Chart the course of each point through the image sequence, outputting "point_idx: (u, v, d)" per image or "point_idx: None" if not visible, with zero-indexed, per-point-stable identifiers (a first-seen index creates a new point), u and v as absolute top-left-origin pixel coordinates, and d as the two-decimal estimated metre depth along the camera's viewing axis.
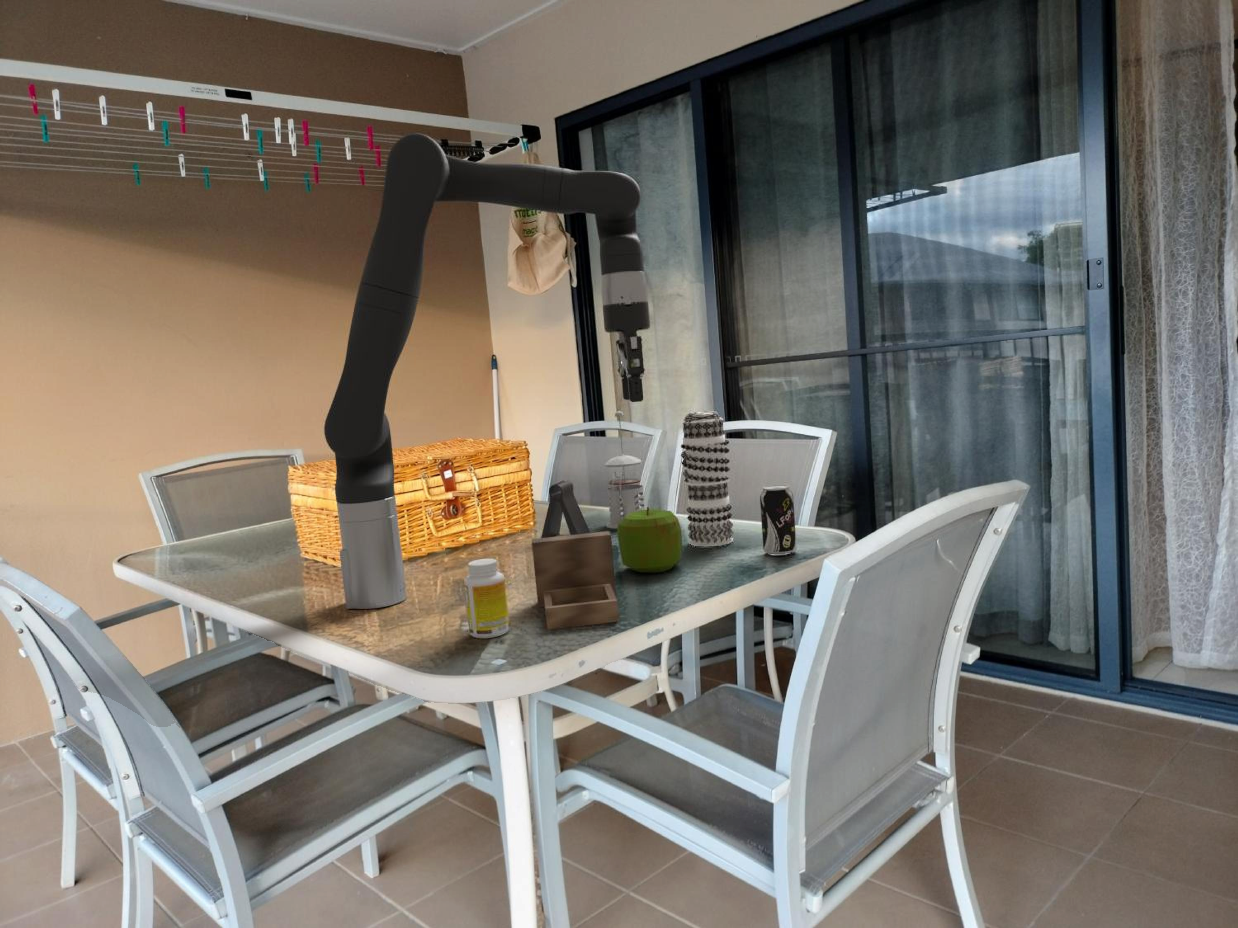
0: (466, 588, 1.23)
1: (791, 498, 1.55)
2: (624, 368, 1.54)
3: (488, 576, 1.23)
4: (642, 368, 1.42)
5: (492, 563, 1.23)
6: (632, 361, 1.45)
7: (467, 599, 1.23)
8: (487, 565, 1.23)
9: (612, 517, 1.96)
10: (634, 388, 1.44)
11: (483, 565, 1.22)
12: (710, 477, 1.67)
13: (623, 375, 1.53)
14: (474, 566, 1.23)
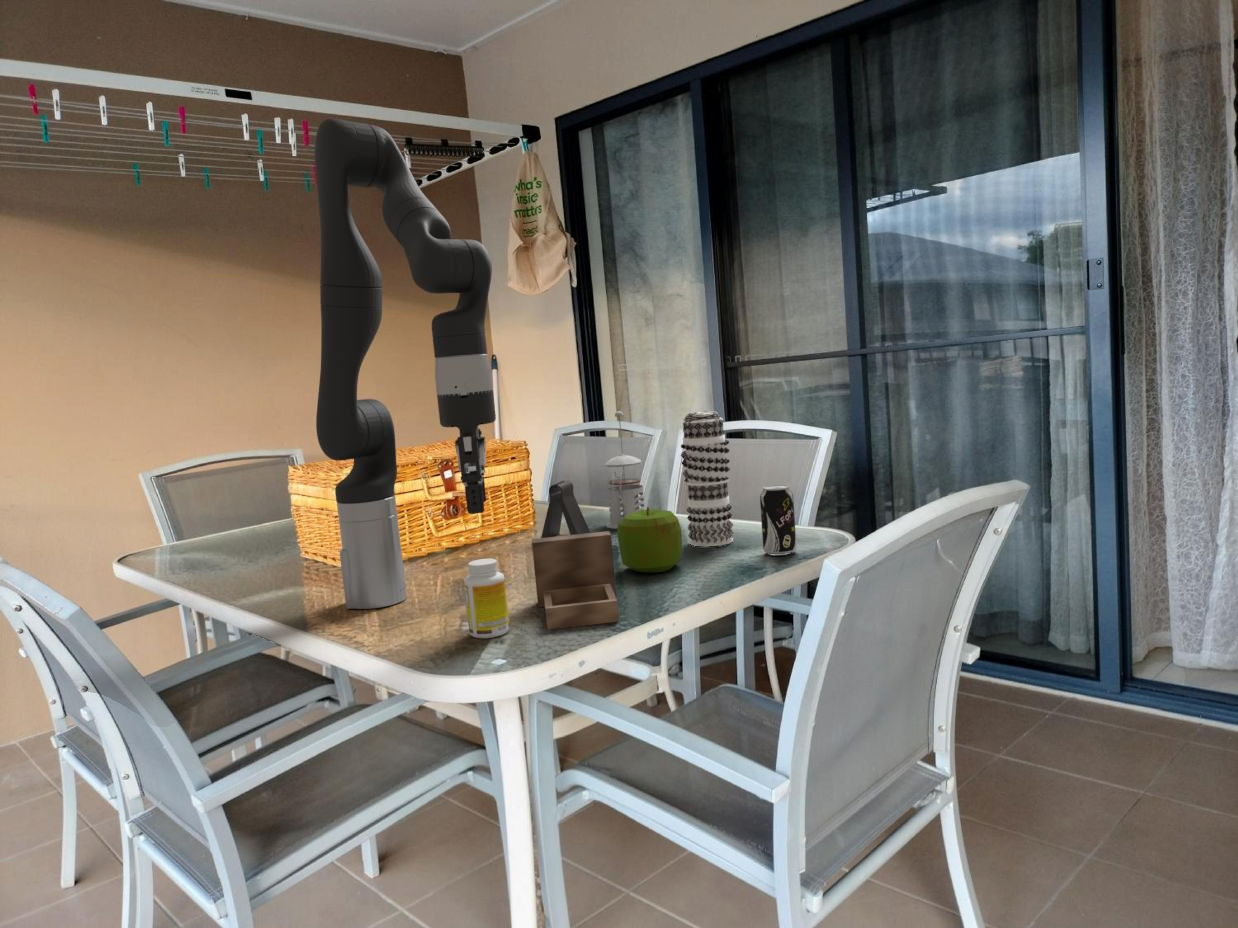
0: (466, 588, 1.23)
1: (791, 498, 1.55)
2: None
3: (488, 576, 1.23)
4: (478, 475, 1.16)
5: (492, 563, 1.23)
6: (470, 464, 1.19)
7: (467, 599, 1.23)
8: (487, 565, 1.23)
9: (612, 517, 1.96)
10: (471, 498, 1.18)
11: (483, 565, 1.22)
12: (710, 477, 1.67)
13: None
14: (474, 566, 1.23)
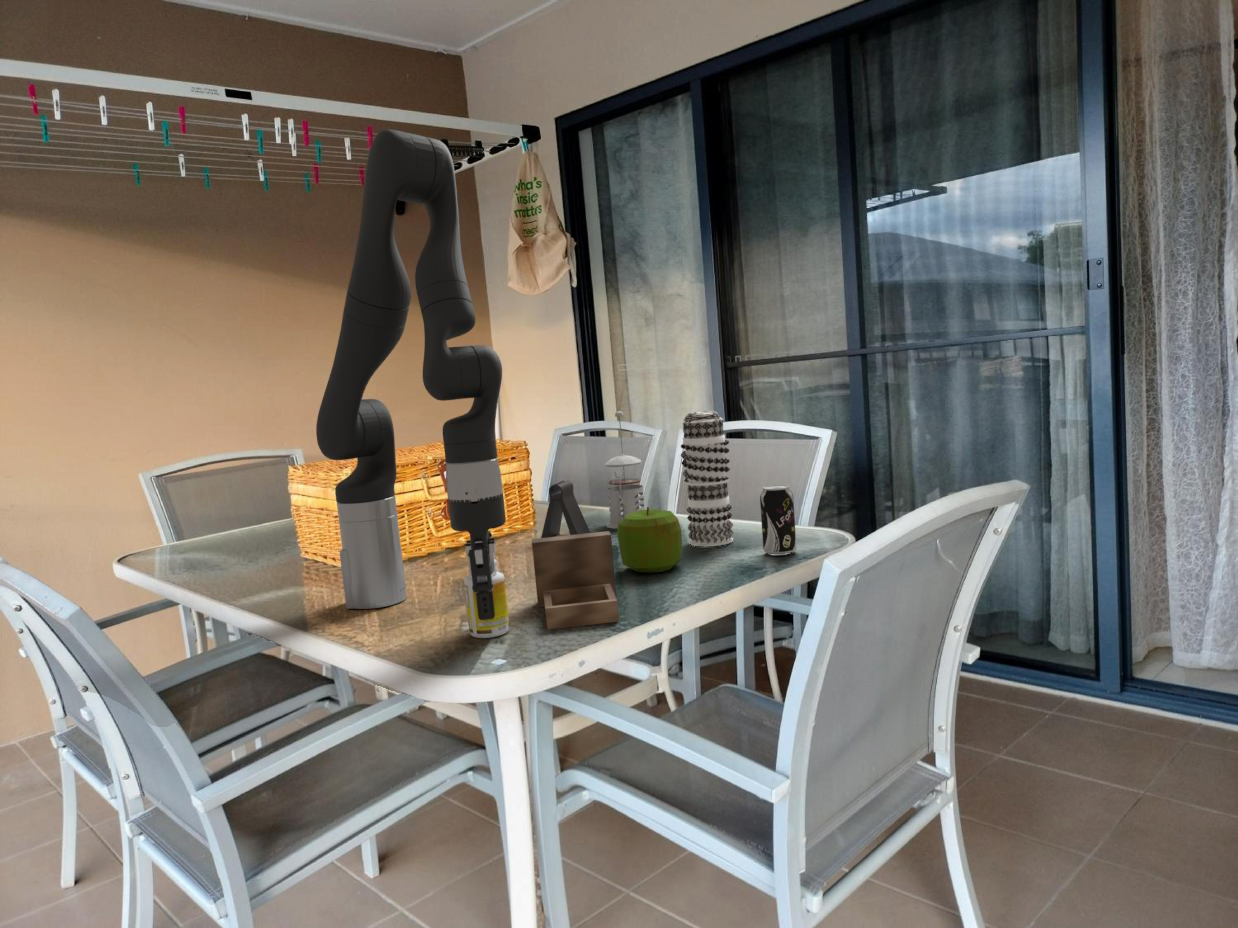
0: (466, 588, 1.23)
1: (791, 498, 1.55)
2: None
3: None
4: (489, 586, 1.19)
5: None
6: None
7: (467, 599, 1.23)
8: None
9: (612, 517, 1.96)
10: (482, 605, 1.21)
11: None
12: (710, 477, 1.67)
13: None
14: None
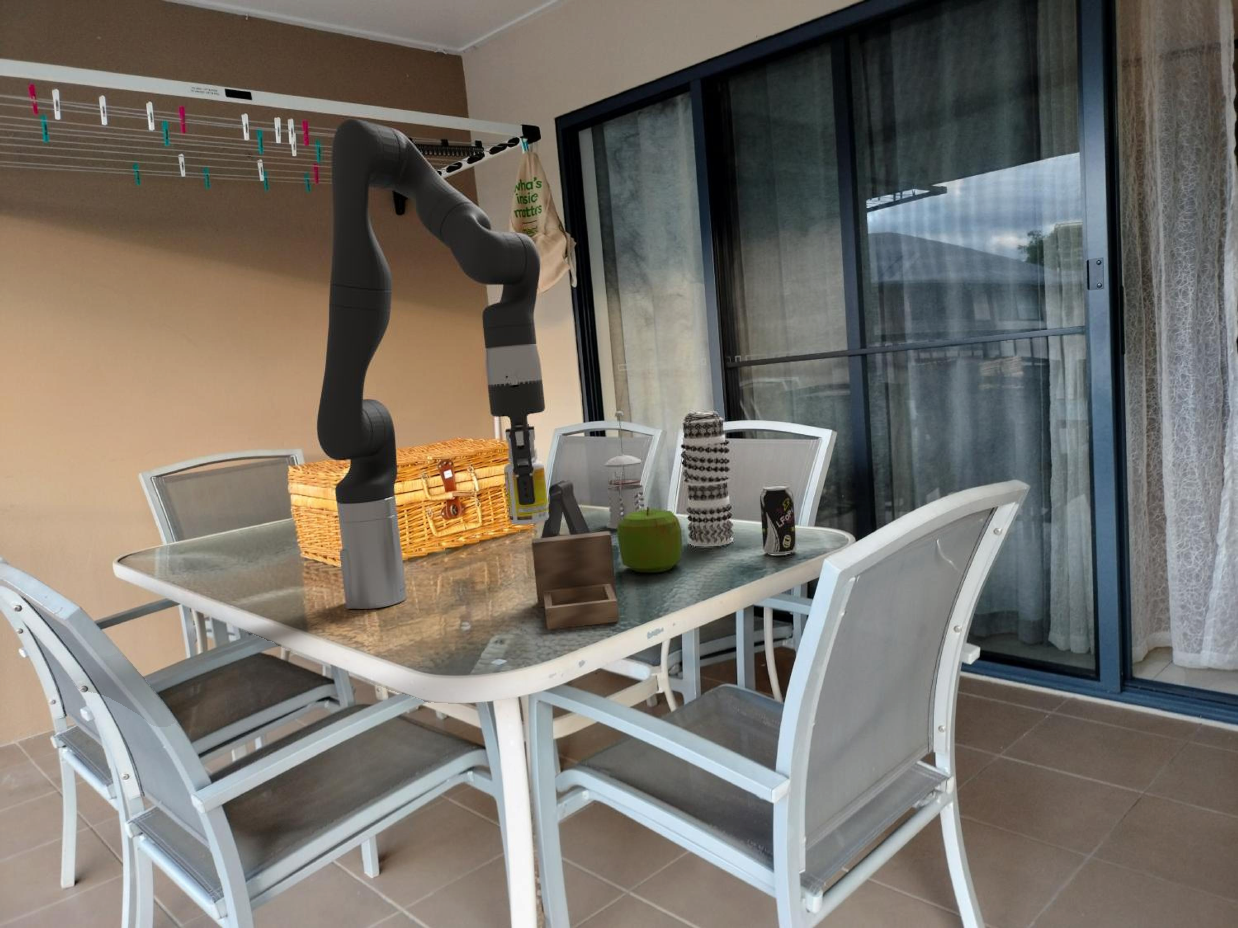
0: (506, 475, 1.24)
1: (791, 498, 1.55)
2: None
3: None
4: (530, 468, 1.19)
5: None
6: None
7: (507, 486, 1.24)
8: None
9: (612, 517, 1.96)
10: (523, 489, 1.21)
11: None
12: (710, 477, 1.67)
13: None
14: None
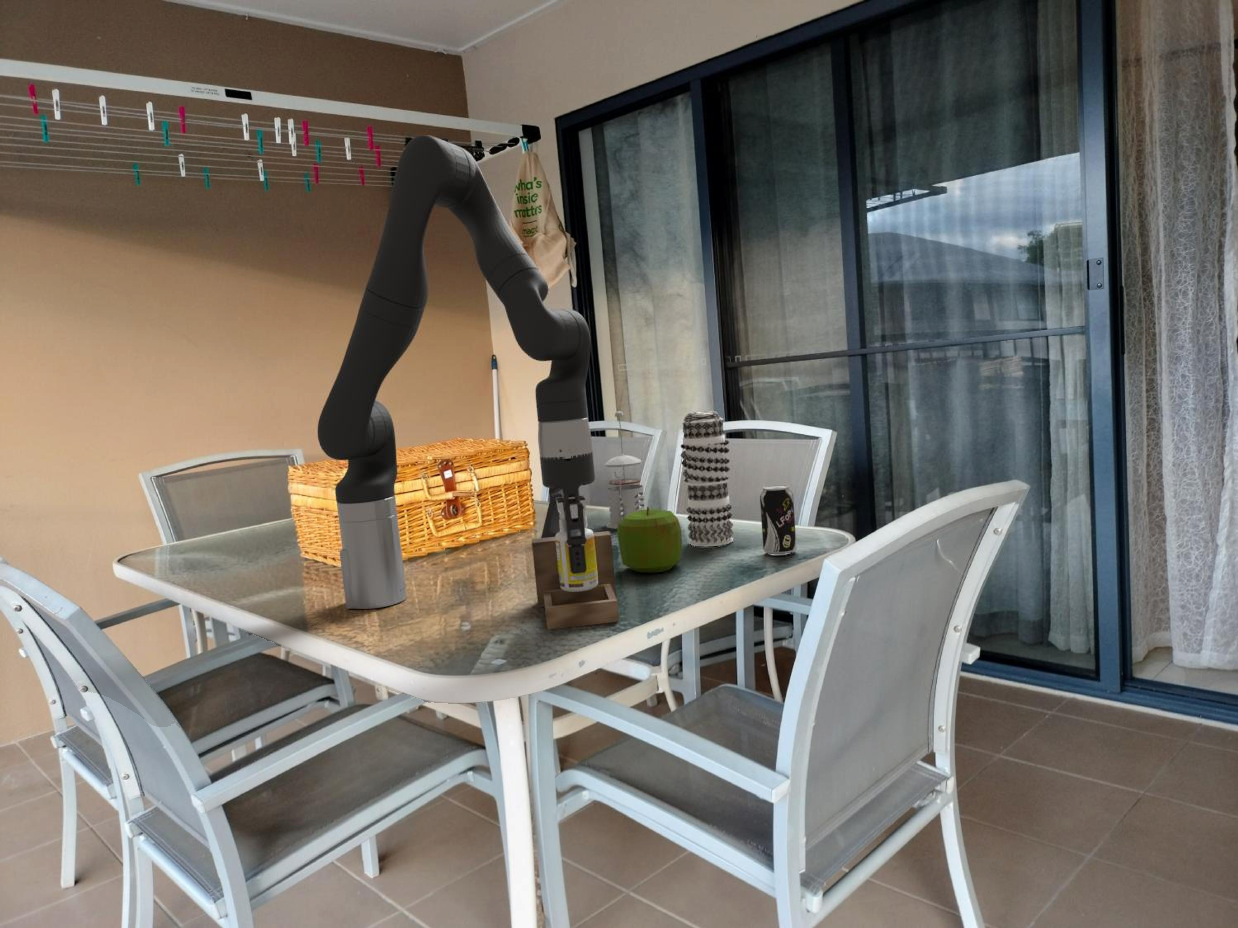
0: (558, 543, 1.28)
1: (791, 498, 1.55)
2: None
3: None
4: (583, 540, 1.23)
5: None
6: None
7: (559, 554, 1.28)
8: None
9: (612, 517, 1.96)
10: (575, 559, 1.25)
11: None
12: (710, 477, 1.67)
13: None
14: None
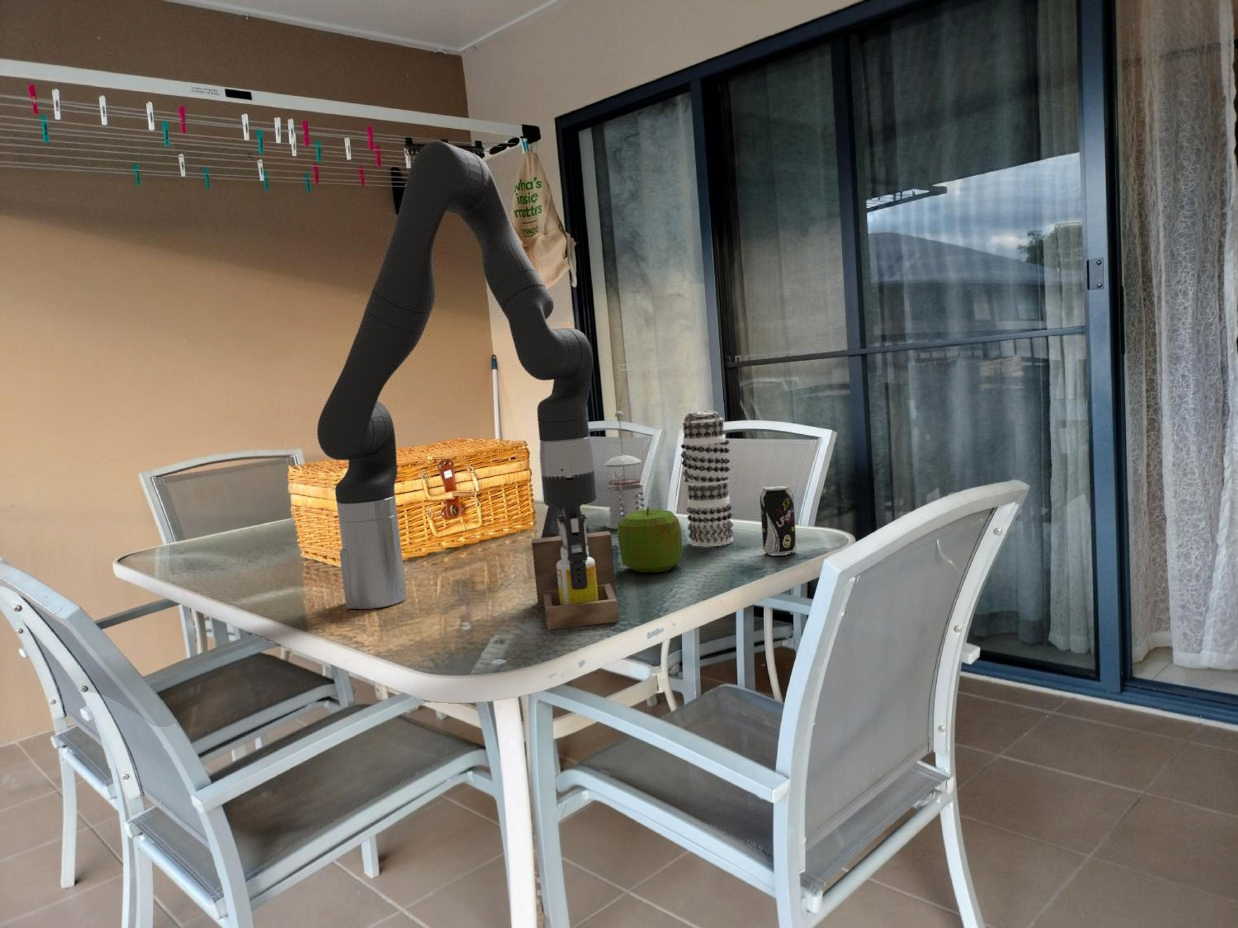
0: (559, 572, 1.28)
1: (791, 498, 1.55)
2: None
3: None
4: (585, 555, 1.22)
5: None
6: None
7: (560, 582, 1.28)
8: (580, 550, 1.28)
9: (612, 517, 1.96)
10: (576, 575, 1.24)
11: (576, 550, 1.27)
12: (710, 477, 1.67)
13: None
14: None
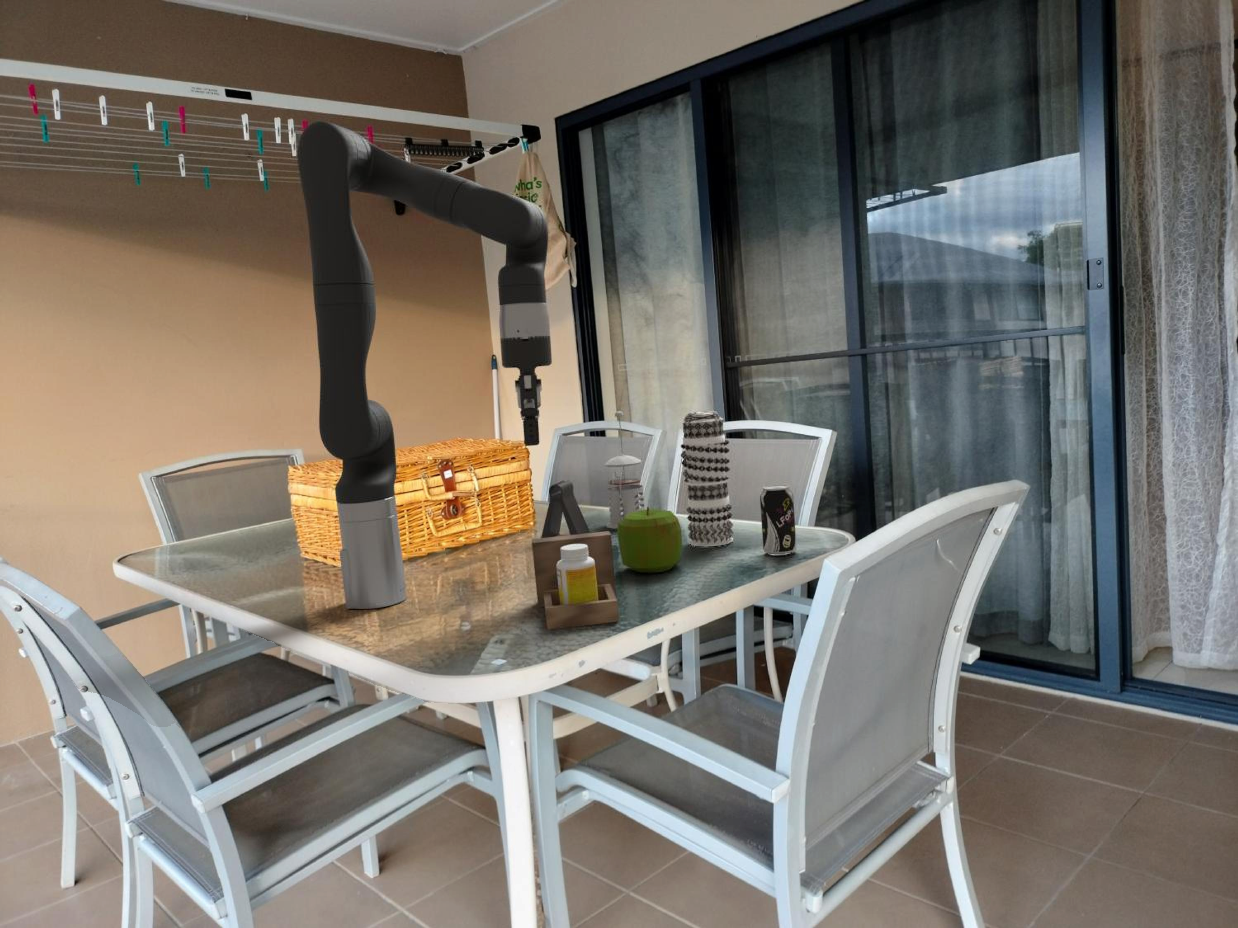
0: (559, 572, 1.28)
1: (791, 498, 1.55)
2: None
3: (580, 560, 1.28)
4: (536, 410, 1.30)
5: (584, 548, 1.28)
6: (528, 401, 1.33)
7: (560, 582, 1.28)
8: (580, 550, 1.28)
9: (612, 517, 1.96)
10: (529, 431, 1.32)
11: (576, 550, 1.27)
12: (710, 477, 1.67)
13: None
14: (567, 551, 1.28)
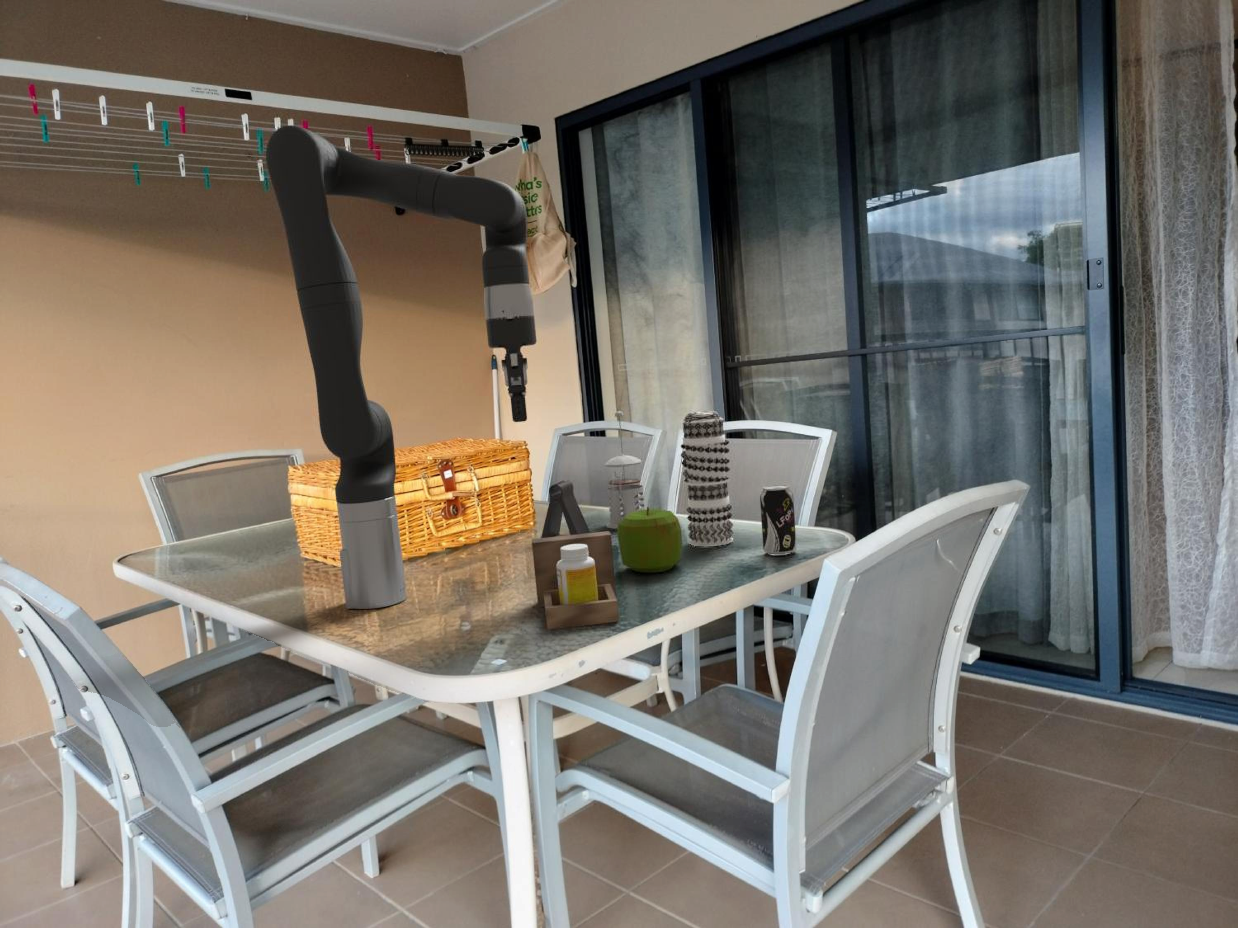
0: (559, 572, 1.28)
1: (791, 498, 1.55)
2: None
3: (580, 560, 1.28)
4: (523, 386, 1.34)
5: (584, 548, 1.28)
6: (515, 379, 1.37)
7: (560, 582, 1.28)
8: (580, 550, 1.28)
9: (612, 517, 1.96)
10: (516, 407, 1.36)
11: (576, 550, 1.27)
12: (710, 477, 1.67)
13: None
14: (567, 551, 1.28)
